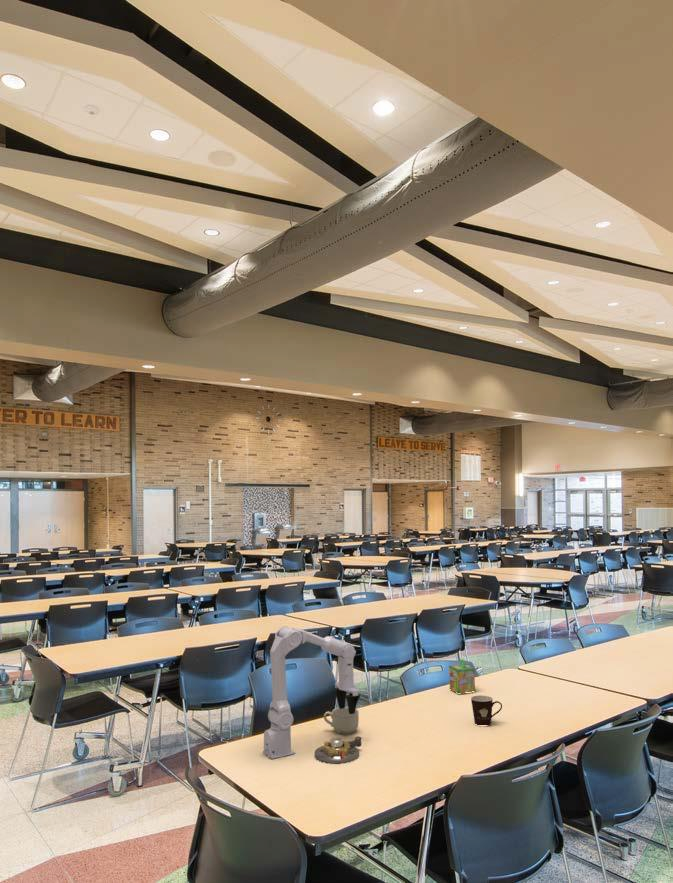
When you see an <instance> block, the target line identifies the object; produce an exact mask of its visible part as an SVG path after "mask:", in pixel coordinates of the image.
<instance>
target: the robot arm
mask: <svg viewBox="0 0 673 883" xmlns="http://www.w3.org/2000/svg"><path fill="white" fill-rule="evenodd" d="M304 643H311V644H313V645H316V646H318V647H319V646H320V648H321V650H322V651H323V652H326V653H327V654H330V655H334V656H337V658H338V659H337V660H338V662H337V663H338V681H337V682H335V683H334V686H335V687H334V688H335V689H333V693H334V695H335V698H336V701H337V705H338V708H339V709H343V708H345V707H346V703H347V707H348V711H349V714H354V713H355V709H357V704H358V701H359V699H360V698H361V695H360V694H359V690H358V689H357V685H356V684H355V683H354V658H355V656H356V654H357V650H355V647H354V645H353V644H351V643H347V642H345V640H343V639H341V640H340V639H338V638H335V636H333V635H330V636H329V635H327V636H325V637H321V636H320V635H317V634H314V633H311V632H309V631H307V630H304V629H299V628H294V627H289V626H282V627H280V628H279V629H278V631H276V633H275V634H274V640H273V642H272V644H271V645H272V646H271V648H270V650H269V652H270V653H269V654H270V655H269V656H270V674H271V693H272V700H271V702H270V703H269V710H268V712H267V719H268V721H269V722H270V728H269V729H266V730H264V732H263V751H262V752H263V754H265V755H266V756H267V757H269V758H270V759H272V760H274V759H278V758H281V757H286V756H291V755H295V754H296V751H294V750H293V749H292V742H291V741H292V738H291V737H292V736H291V734H292V733H291V732H292V730H291V729H292V728H291V727H292V725H293V723H294V716H293V714H292V711H291V706H290V703H289V701H288V688H287V686H288V685H287V672H286V671H287V670H286V668H287V667H286V656H287V655H288V654H289V653H290V652H291V651H293V650H294V649H296V648H298V647H299V646H300V645H301V644H304Z"/></svg>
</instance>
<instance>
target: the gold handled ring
mask: <svg viewBox="0 0 673 883" xmlns="http://www.w3.org/2000/svg"><path fill="white" fill-rule="evenodd" d="M322 746H323V753H325V754H326V755H328V756H337V757H338V756H340V752H341V751H344V755H347V754H348V753H349V752H350V748H353V747H356V748H357V747H358V748H359V747H362V737H361V736H355V737H354V740H353V739H352V740H350V741H349V740H348V741H346V740H343V747H341V748H336V746H332V748H331V744H330V741H327V740H326V741H324V742H323V745H322Z"/></svg>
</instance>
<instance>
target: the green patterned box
mask: <svg viewBox="0 0 673 883" xmlns="http://www.w3.org/2000/svg"><path fill="white" fill-rule="evenodd" d="M462 663H463V664H462ZM448 667H449V690H450V689H451V690H453V691H455V692H457V693H465V692H472V691H475V692H476V682H475V681H476V679H475V673H476V672H475V668H474V667H473V666H470V665H469V664H466V660H465V659H463V658H460V661H459V664H456V665H455V664H454V665H448ZM451 690H450V691H451ZM453 691H452V692H453ZM455 692H454V693H455Z"/></svg>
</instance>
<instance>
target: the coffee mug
mask: <svg viewBox="0 0 673 883" xmlns="http://www.w3.org/2000/svg"><path fill="white" fill-rule="evenodd" d="M493 700H494V699H493V697H492V696H488V695H479V694H478V695H472V696H471V697H470V701H471V707H472V714H473V720H474V725H475V724H477V725H490V724H491V725H492V718H493V717H494V716H496V715H497V714H499V713H500V712H501V711H502V709H503V704H502V703H501V702H500V701H498V700H496V701H494V702H493ZM495 704H499V705H500V708H499V709H498V710H497V711H496V712H494V713H493V707H494V705H495ZM492 713H493V714H492ZM477 725H476V726H477ZM491 725H490V726H491Z"/></svg>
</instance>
